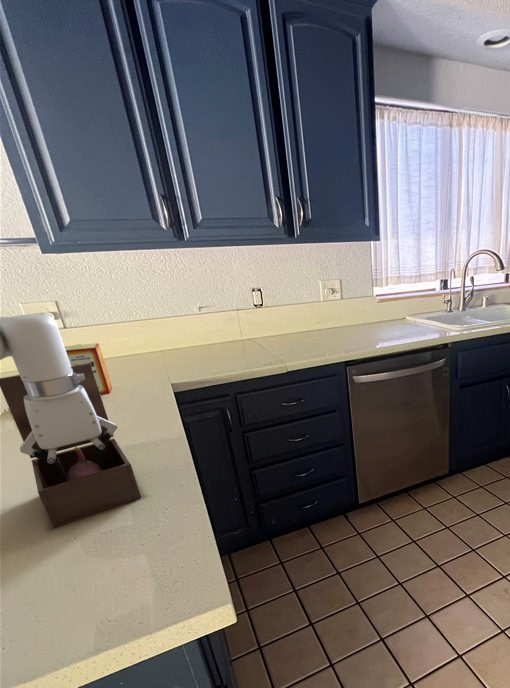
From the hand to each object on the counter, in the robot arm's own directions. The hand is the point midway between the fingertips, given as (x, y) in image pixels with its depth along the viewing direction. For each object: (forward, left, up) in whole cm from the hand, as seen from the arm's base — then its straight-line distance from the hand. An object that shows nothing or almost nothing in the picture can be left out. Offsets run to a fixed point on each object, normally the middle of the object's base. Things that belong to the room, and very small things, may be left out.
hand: (83, 470), depth 85 cm
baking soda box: (+36, +65, -6) cm, 75 cm away
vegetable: (0, 0, -5) cm, 5 cm away
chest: (0, 0, -6) cm, 6 cm away
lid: (+3, +7, +11) cm, 13 cm away
